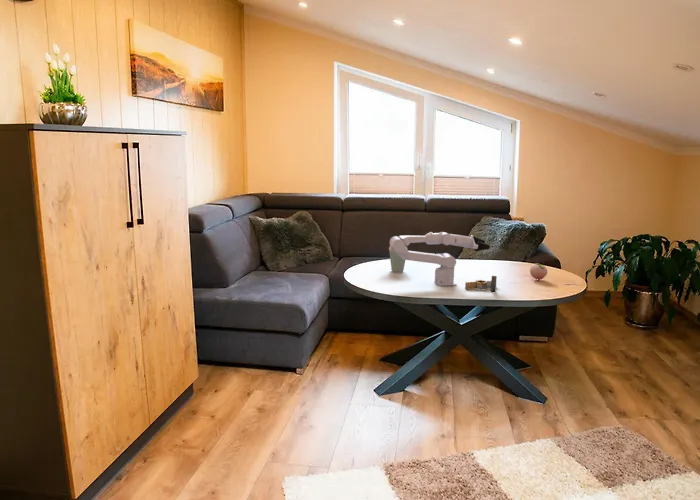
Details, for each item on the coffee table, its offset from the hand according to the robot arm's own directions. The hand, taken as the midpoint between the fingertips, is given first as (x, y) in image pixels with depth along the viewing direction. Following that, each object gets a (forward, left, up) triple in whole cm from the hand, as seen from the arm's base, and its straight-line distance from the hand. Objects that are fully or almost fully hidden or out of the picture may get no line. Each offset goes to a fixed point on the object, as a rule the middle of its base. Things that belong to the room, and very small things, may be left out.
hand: (486, 245), depth 288 cm
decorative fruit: (+32, 0, -21) cm, 38 cm away
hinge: (-6, -9, -21) cm, 23 cm away
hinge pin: (-3, -16, -21) cm, 26 cm away
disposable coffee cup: (-37, +32, -21) cm, 54 cm away
